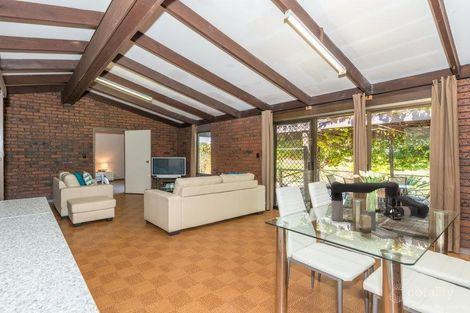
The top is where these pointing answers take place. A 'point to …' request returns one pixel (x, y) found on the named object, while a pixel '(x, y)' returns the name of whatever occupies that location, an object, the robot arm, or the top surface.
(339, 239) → the top surface
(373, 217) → the slate box
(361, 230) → the banded wooden block
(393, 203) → the graphics card box
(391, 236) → the parts tray
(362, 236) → the pad
